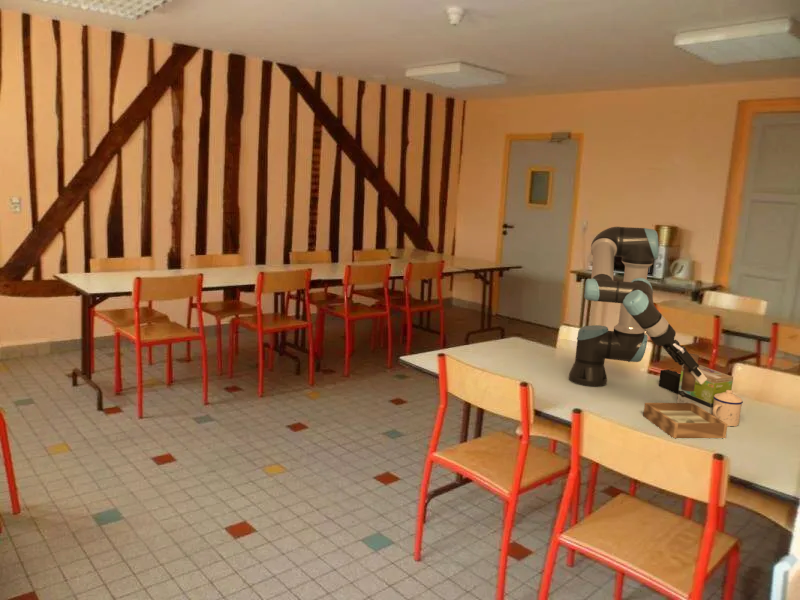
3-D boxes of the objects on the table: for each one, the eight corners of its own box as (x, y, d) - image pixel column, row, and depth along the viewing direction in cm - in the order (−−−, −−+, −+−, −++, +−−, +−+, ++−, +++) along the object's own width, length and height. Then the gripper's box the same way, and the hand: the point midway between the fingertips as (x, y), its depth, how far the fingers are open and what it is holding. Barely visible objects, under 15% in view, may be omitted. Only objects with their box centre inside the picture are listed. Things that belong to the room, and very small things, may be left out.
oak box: (643, 416, 221) (644, 402, 220) (691, 416, 223) (692, 403, 222) (673, 438, 201) (675, 423, 200) (725, 438, 203) (727, 424, 202)
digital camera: (688, 393, 250) (690, 376, 249) (677, 394, 248) (680, 377, 247) (668, 385, 259) (670, 369, 258) (658, 386, 257) (660, 369, 256)
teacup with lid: (720, 416, 225) (724, 385, 223) (744, 424, 217) (749, 392, 215) (699, 421, 219) (704, 389, 216) (724, 430, 211) (729, 397, 209)
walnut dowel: (678, 387, 211) (683, 353, 209) (689, 387, 212) (694, 353, 210) (685, 391, 207) (689, 356, 205) (696, 391, 208) (701, 356, 206)
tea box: (675, 403, 236) (680, 366, 234) (695, 401, 240) (700, 364, 238) (709, 417, 223) (714, 377, 220) (728, 414, 227) (734, 375, 224)
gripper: (638, 331, 213) (677, 378, 218) (663, 344, 196) (705, 395, 201) (654, 317, 213) (693, 364, 217) (681, 328, 196) (723, 379, 201)
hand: (699, 379), depth 209 cm, fingers closed on walnut dowel, 4 cm apart
